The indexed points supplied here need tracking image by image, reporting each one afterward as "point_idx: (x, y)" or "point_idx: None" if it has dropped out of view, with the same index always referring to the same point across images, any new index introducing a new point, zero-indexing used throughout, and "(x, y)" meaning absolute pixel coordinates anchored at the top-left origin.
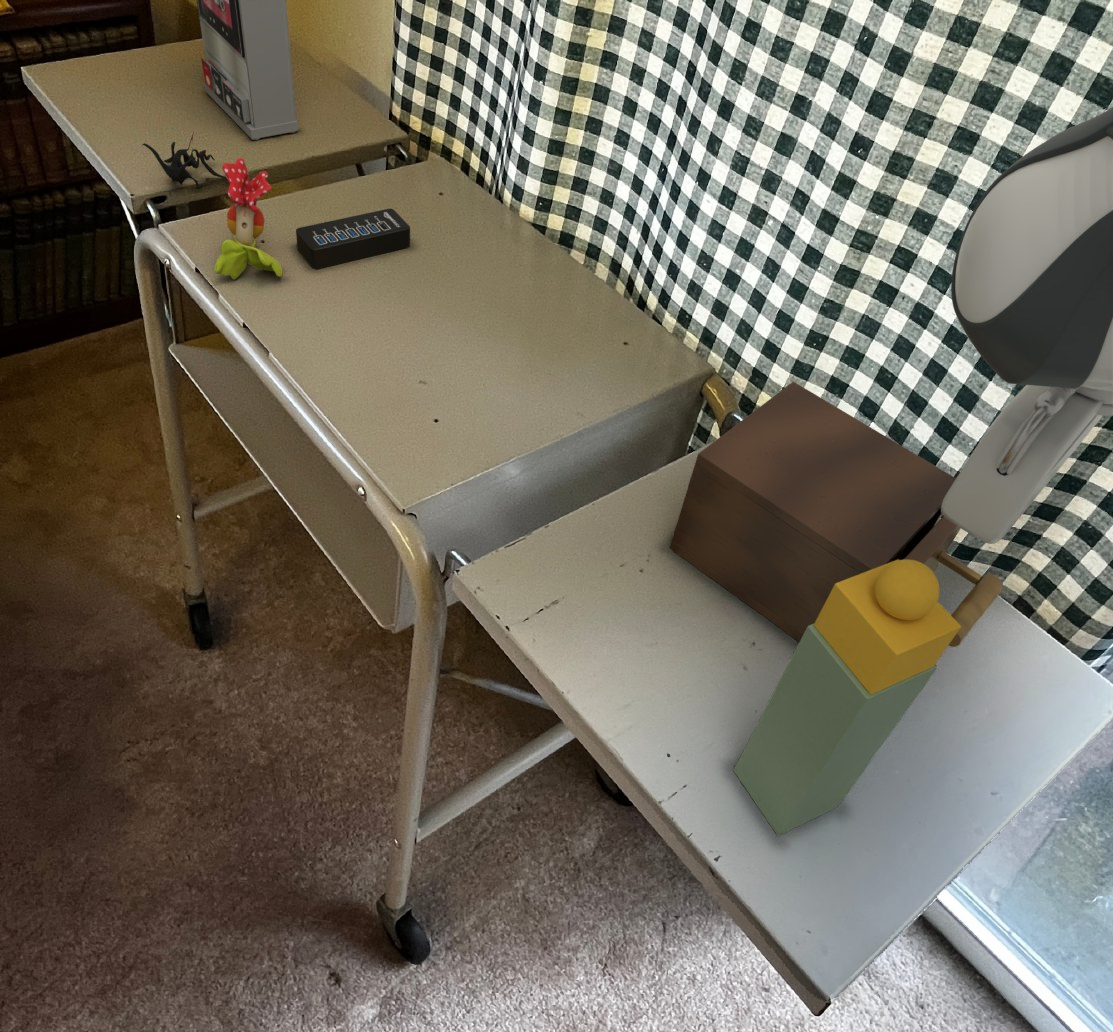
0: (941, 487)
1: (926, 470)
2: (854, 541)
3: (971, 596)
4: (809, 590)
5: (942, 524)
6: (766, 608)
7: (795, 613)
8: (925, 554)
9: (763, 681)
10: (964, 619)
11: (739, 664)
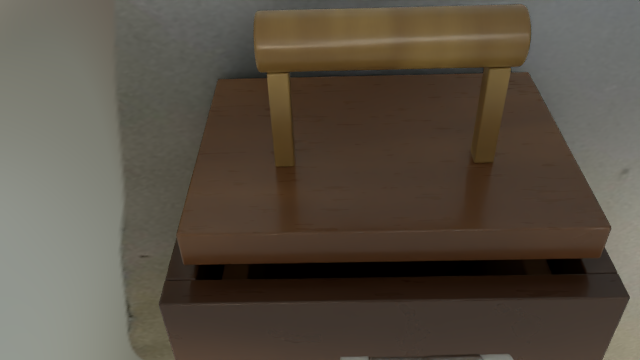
0: (227, 321)
1: (207, 356)
2: (563, 353)
3: (373, 67)
4: None
5: (305, 254)
6: None
7: None
8: (441, 239)
9: (634, 142)
10: (471, 47)
11: (622, 179)
